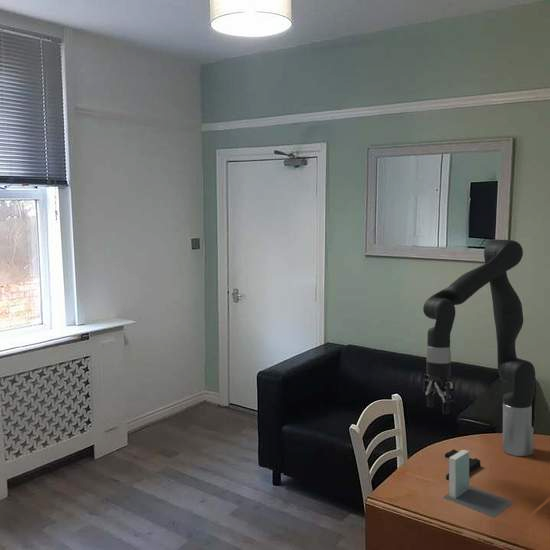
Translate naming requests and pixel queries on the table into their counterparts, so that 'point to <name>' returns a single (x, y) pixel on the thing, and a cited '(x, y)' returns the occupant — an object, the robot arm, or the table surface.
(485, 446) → the table surface
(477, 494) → the mat
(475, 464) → the handgun
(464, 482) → the tile
